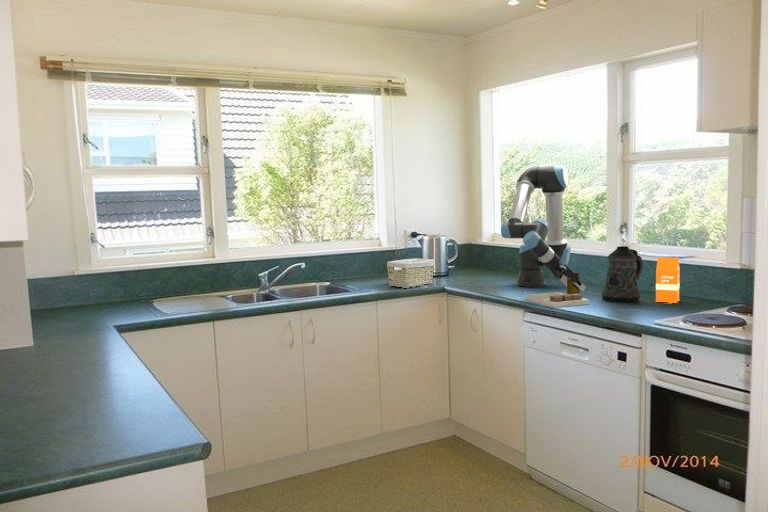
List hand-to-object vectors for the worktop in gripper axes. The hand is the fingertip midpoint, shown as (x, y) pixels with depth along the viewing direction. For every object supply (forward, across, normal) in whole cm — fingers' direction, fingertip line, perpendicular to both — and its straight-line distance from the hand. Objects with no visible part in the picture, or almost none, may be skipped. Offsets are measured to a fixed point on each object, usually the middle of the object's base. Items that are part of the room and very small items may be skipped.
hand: (576, 287), depth 304 cm
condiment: (+1, 0, -5) cm, 5 cm away
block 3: (-7, +18, -12) cm, 22 cm away
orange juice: (+22, +31, +15) cm, 41 cm away
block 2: (-10, +18, -15) cm, 25 cm away
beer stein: (+11, +19, +5) cm, 22 cm away
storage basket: (-38, -73, -45) cm, 94 cm away
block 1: (-14, +18, -19) cm, 29 cm away
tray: (-10, +10, -16) cm, 21 cm away
